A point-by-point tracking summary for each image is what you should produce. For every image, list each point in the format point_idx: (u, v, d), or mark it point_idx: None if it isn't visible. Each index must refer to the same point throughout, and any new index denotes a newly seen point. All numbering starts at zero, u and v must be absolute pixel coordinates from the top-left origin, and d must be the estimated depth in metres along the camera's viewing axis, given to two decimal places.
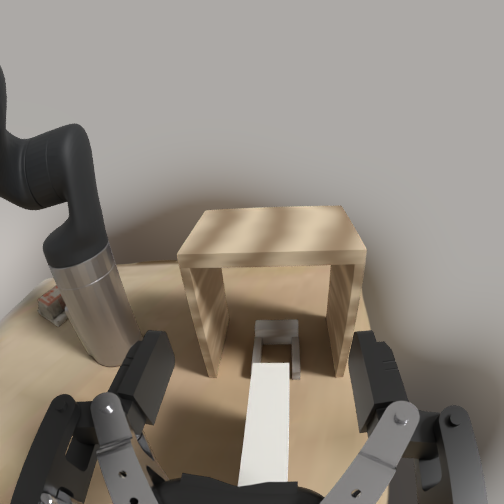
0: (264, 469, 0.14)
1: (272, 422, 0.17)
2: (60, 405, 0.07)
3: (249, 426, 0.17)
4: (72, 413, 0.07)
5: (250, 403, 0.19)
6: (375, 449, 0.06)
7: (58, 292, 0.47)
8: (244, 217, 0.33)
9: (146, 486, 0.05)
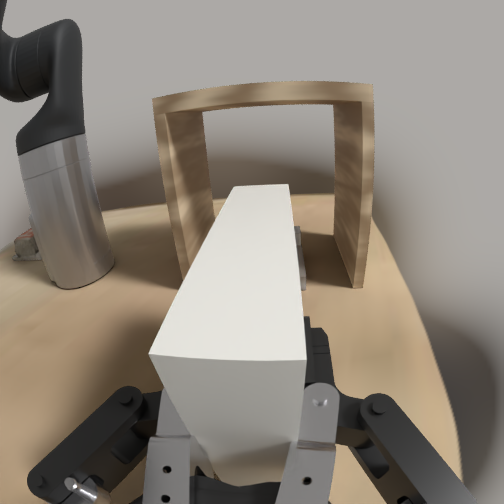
0: (239, 282, 0.07)
1: (261, 224, 0.10)
2: (125, 398, 0.08)
3: (217, 230, 0.10)
4: (140, 406, 0.08)
5: (224, 210, 0.12)
6: (306, 435, 0.07)
7: None
8: None
9: (186, 489, 0.05)
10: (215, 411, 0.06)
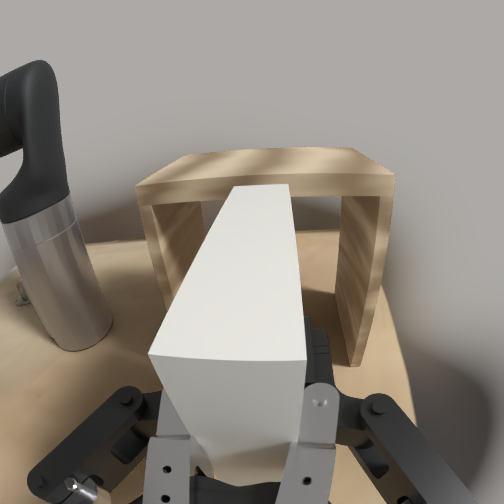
0: (239, 282, 0.07)
1: (261, 224, 0.10)
2: (125, 398, 0.08)
3: (217, 229, 0.10)
4: (140, 406, 0.08)
5: (224, 210, 0.12)
6: (306, 435, 0.07)
7: None
8: (230, 155, 0.25)
9: (186, 489, 0.05)
10: (215, 412, 0.06)
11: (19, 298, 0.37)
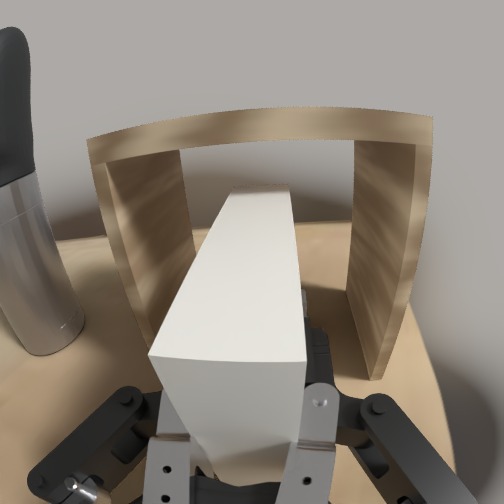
0: (239, 283, 0.07)
1: (261, 225, 0.10)
2: (125, 398, 0.08)
3: (217, 230, 0.10)
4: (140, 406, 0.08)
5: (224, 211, 0.12)
6: (306, 435, 0.07)
7: None
8: None
9: (186, 489, 0.05)
10: (215, 412, 0.06)
11: None
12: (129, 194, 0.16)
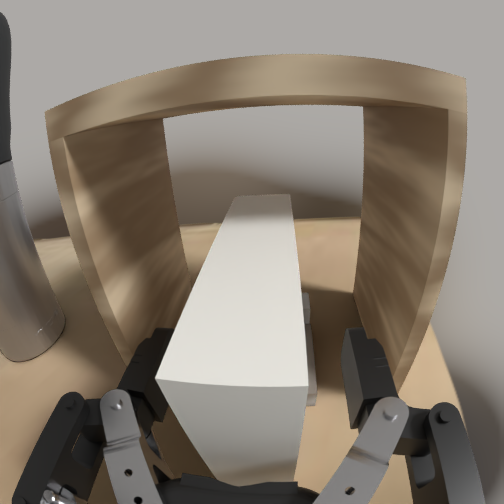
0: (242, 304, 0.07)
1: (263, 239, 0.10)
2: (69, 402, 0.07)
3: (219, 245, 0.10)
4: (81, 411, 0.07)
5: (225, 223, 0.12)
6: (366, 446, 0.06)
7: None
8: None
9: (152, 486, 0.05)
10: (219, 428, 0.06)
11: None
12: (95, 177, 0.12)
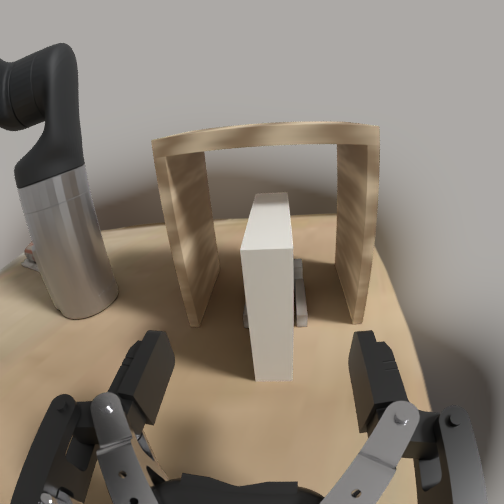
0: (268, 231, 0.18)
1: (274, 212, 0.22)
2: (60, 405, 0.07)
3: (253, 214, 0.21)
4: (72, 413, 0.07)
5: (254, 206, 0.23)
6: (375, 449, 0.06)
7: None
8: None
9: (146, 486, 0.05)
10: (260, 279, 0.17)
11: None
12: (177, 180, 0.23)
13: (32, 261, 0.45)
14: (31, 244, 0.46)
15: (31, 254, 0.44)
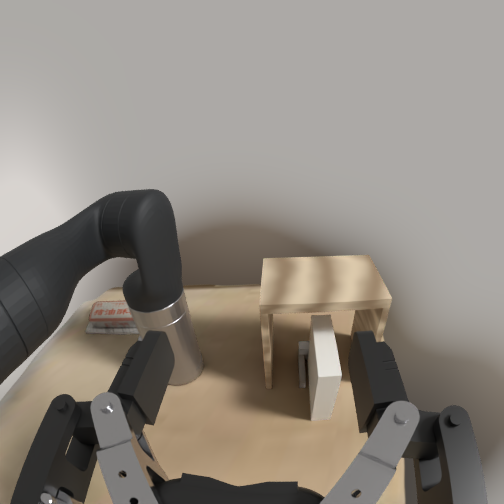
0: (328, 361, 0.34)
1: (327, 341, 0.37)
2: (60, 405, 0.07)
3: (316, 343, 0.37)
4: (72, 413, 0.07)
5: (314, 333, 0.39)
6: (375, 449, 0.06)
7: None
8: (298, 267, 0.43)
9: (146, 486, 0.05)
10: (324, 385, 0.33)
11: None
12: None
13: (102, 327, 0.58)
14: (95, 313, 0.59)
15: (103, 321, 0.58)
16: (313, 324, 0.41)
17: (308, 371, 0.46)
